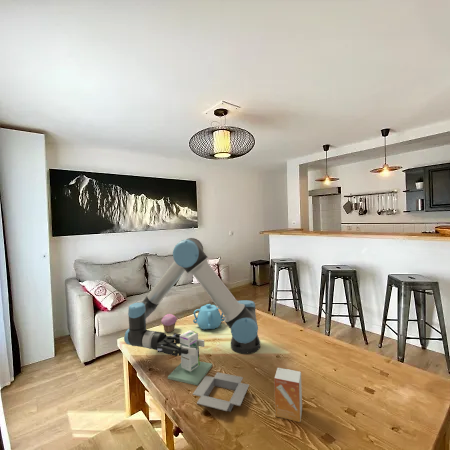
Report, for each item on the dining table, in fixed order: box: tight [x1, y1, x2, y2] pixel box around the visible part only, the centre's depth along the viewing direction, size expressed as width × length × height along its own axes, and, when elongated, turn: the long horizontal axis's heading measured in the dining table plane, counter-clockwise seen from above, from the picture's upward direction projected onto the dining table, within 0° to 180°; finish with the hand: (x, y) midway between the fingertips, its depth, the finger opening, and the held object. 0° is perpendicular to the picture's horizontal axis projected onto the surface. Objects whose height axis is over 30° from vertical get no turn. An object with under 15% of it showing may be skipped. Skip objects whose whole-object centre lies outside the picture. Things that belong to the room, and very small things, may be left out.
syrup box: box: [179, 329, 200, 372], centre depth 108 cm, size 6×6×14 cm
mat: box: [167, 361, 213, 387], centre depth 108 cm, size 14×14×1 cm
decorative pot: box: [193, 303, 225, 331], centre depth 154 cm, size 16×16×14 cm
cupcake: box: [160, 313, 178, 333], centre depth 150 cm, size 9×9×10 cm
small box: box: [274, 367, 303, 423], centre depth 83 cm, size 8×6×13 cm
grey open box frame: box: [192, 372, 250, 413], centre depth 92 cm, size 18×18×3 cm
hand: (200, 347), depth 106 cm, fingers closed on syrup box, 7 cm apart
